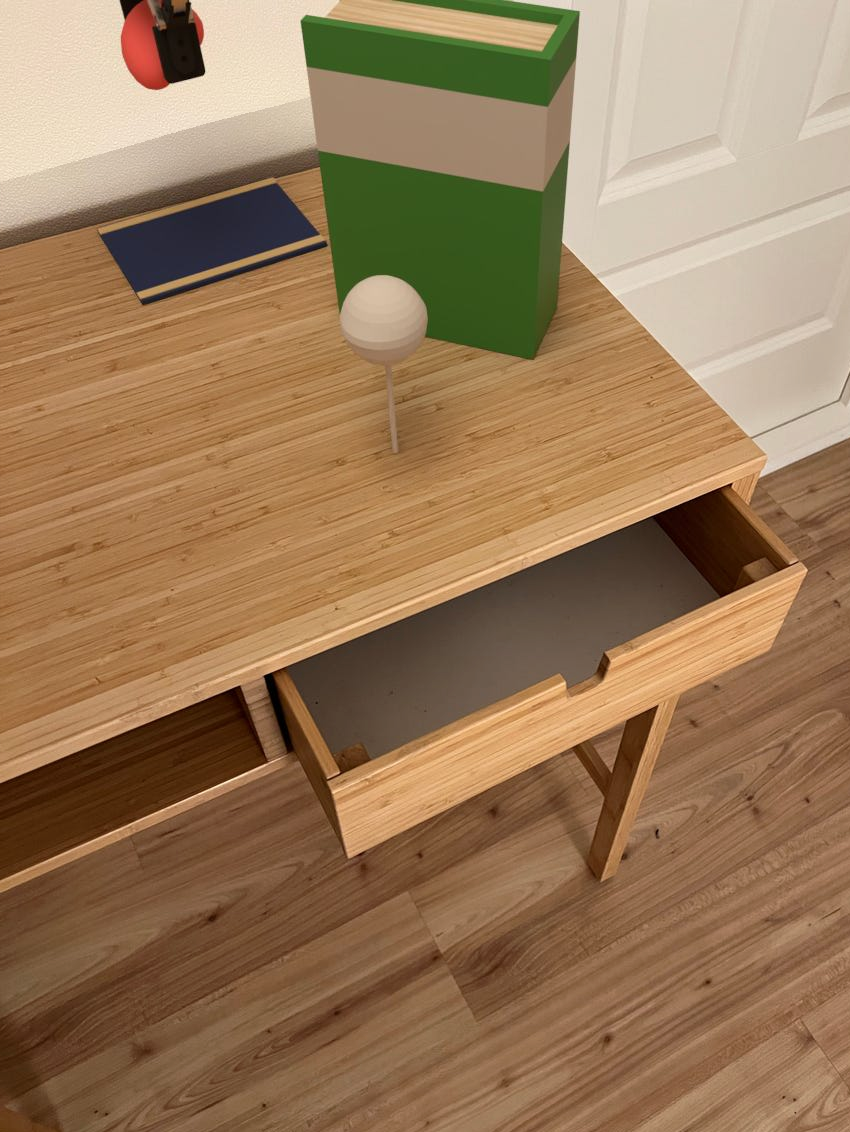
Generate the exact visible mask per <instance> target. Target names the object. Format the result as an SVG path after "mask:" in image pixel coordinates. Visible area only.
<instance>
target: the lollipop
mask: <svg viewBox="0 0 850 1132" xmlns="http://www.w3.org/2000/svg"><path fill="white" fill-rule="evenodd" d="M427 322H428V317H427V310H426V306H425V304H424V302H423V300H422V299H421V297H420V296H419V295H418V293H417V292H416V291H415V290H414V288H413V287H411V286H410V285H409V284H408V283H406V282H405V281H403V280H401V279H399V278H396V277H393V276H388V275H377V276H372V277H369V278H367V279H365V280H363V281H361V282H359V283H358V284H356V285H355V286H354V287H353V289H352V290H351V291H350V292H349V293H348V295H347V297H346V299H345V301H344V303H343V306H342V309H341V313H339V327H340V331H341V335H342V336H343V338H344V341H345V342H346V344H347V346H348V347H349V348H350V349H351V351H352V352H353V353H354V355H356V356H357V357H358V358H360V359H361V360H363V361H365V362H367V363H369V364H372V365H374V366H384V372H385V384H386V394H387V404H388V415H389V427H390V436H391V437H390V438H391V449H392V453H393V454H398V453H399V452H400V451H399V441H398V440H399V439H398V429H397V417H396V405H395V392H394V381H393V370H392V366H394V365H398V364H401V363H403V362H405V361H407V360H408V359H410V358H411V357H412V356H413V355H414V354H416V353H417V351H418V350H419V349H420V347H421V345H422V344H423V342H424V339H425V334H426V329H427Z"/></svg>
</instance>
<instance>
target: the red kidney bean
mask: <svg viewBox="0 0 850 1132" xmlns="http://www.w3.org/2000/svg"><path fill="white" fill-rule="evenodd" d="M158 2H159V4H160V7H161V2H162V0H158ZM192 10H193V14H194V17H195V23H196V28H197V33H198V38H199V42H200V47H201V46H202V44H203V41H204V37H205V30H204V29H205V28H204V23H203V21H202V20H201V19H202V18H201V17H200V16H199V15H198V13H197V12H196V11H195V10H194V9H193V8H192ZM153 26H156V23H155V21H154V18H153V15H152V12H151V10H150V7H149V4H148V1H147V0H143V1H142V2H140V3H139V4H137V5H136V6H135V7H134V8H133V9H132V10H131V12H130V13H129V14H128V16H127V17H126V19H125V20H124V22H123V26H122V28H121V33H120V49H121V54H122V55H121V56H122V59H123V60H124V64H125V66H126V68H127V70H128V71H129V73H130V74H131V75H132V77H133V78H134V80H135V81H136V82H137V83H138V84H140V85H141V86H143V88H145V89H148V90H153V91H160V90H164V89H166V88H167V87H169V85H171V84H170V83H168V82H167V81H166V79H165V78H164V75H163V70H162V66H161V62H160V58H159V54H158V50H157V46H156V42H155V38H154V34H153V30H152V27H153Z"/></svg>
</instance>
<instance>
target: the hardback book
mask: <svg viewBox="0 0 850 1132" xmlns="http://www.w3.org/2000/svg"><path fill="white" fill-rule="evenodd" d="M580 15H581V11H580V10H574V9H568V8H561V7H556V6H555V7H554V6H548V5H540V4H535V3H534V4H533V3H527V2H521V1H520V2H519V1H513V0H339V1H338V2H337V3H336V5H334V7H333V8H332V9H331V10H330V11H329V12H328V13H327V14H326V15H325V16H324V17H323V16H316V15H311V14H305V15H304V16H303V17H302V18H301V19H300V27H301V36H302V43H303V50H304V58H305V66H306V72H307V73H306V74H307V80H308V88H309V96H310V104H311V109H312V118H313V125H314V135H315V141H316V148H317V155H318V163H319V170H320V171H319V172H320V178H321V186H322V192H323V194H322V195H323V200H324V207H325V215H326V222H327V223H326V224H327V229H328V230H327V231H328V238H329V245H330V246H329V247H330V253H331V259H332V260H331V261H332V267H333V275H334V276H333V277H334V282H335V291H336V299H337V306H338V312H339V314H340V313H341V309H342V306H343V303H344V301H345V299H346V297H347V295H348V293H349V292H350V291H351V290H352V289H353V287H354V286H355V285H356V284H358V283H359V282H361V281H363V280H365V279H367V278H369V277H372V276H377V275H388V276H393V277H396V278H399V279H401V280H403V281H405V282H406V283H408V284H409V285H410V286H411V287H413V288H414V290H415V291H416V292H417V293H418V295H419V296H420V297H421V299H422V300H423V302H424V304H425V306H426V310H427V317H428V322H427V329H426V334H425V337H426V338H431V339H436V340H440V341H444V342H449V343H454V344H457V345H463V346H468V347H473V348H477V349H481V350H487V351H490V352H495V353H500V354H506V355H510V356H514V357H518V358H522V359H523V358H524V359H528V360H529V359H530V360H533V361H534V359H535V357H536V355H537V353H538V351H539V349H540V346H541V344H542V342H543V340H544V337H545V335H546V333H547V331H548V329H549V326H550V325H551V322H552V320H553V318H554V315H555V313H556V311H557V310H558V299H559V288H560V275H561V263H562V262H561V261H562V248H563V236H564V222H565V211H566V198H567V184H568V171H569V156H570V144H571V133H572V120H573V107H574V94H575V81H576V67H577V65H576V64H577V55H578V52H577V51H578V41H579V40H578V39H579V27H580V17H581V16H580ZM425 337H424V338H425Z"/></svg>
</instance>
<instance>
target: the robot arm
mask: <svg viewBox="0 0 850 1132" xmlns="http://www.w3.org/2000/svg"><path fill="white" fill-rule="evenodd" d="M142 1H143V0H119V4H120V9H121V11H122V16H123V19H124V21H125V19H126V17H127V16H128V14H129V13H130V12H131V10H132V9H133V8H134V7H135V6H136V5H137V4H139V3H140V2H142ZM147 1H148V4H149V7H150V10H151V12H152V15H153V18H154V21H155V23H156V26H153V27H152V30H153V34H154V38H155V42H156V46H157V50H158V54H159V58H160V62H161V66H162V70H163V75H164V78H165V79H166V81H167V82H168V83H170V84H169V85H173V84H177V83H181V82H184V81H189V80H192V79H197V78H201V77H203V76H204V75H205V74H206V67H205V66H206V65H205V60H204V57H203V52H202V47H201V46H200V42H199V38H198V33H197V28H196V23H195V17H194V14H193V10H194V9H193V8H192V2H191V1H190V0H162V2H161V7H160V4H159V2H158V0H147ZM192 9H193V10H192Z"/></svg>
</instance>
